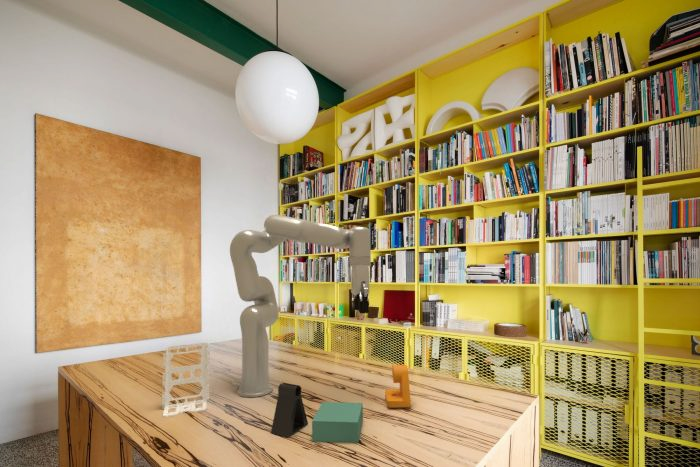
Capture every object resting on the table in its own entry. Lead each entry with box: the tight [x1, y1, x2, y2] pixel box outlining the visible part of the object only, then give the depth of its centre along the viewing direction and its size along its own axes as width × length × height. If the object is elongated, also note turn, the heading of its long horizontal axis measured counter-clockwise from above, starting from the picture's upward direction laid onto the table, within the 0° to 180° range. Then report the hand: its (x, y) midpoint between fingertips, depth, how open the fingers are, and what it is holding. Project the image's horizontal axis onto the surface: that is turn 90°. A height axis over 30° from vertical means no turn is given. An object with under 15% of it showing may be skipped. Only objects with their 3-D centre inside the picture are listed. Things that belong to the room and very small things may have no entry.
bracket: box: [384, 364, 412, 408], centre depth 114 cm, size 11×7×12 cm, turn 179°
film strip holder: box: [161, 342, 211, 418], centre depth 117 cm, size 14×14×20 cm
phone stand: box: [270, 382, 309, 439], centre depth 98 cm, size 9×6×12 cm, turn 150°
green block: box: [311, 401, 364, 444], centre depth 96 cm, size 12×13×5 cm
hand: (361, 311), depth 121 cm, fingers open, 9 cm apart
